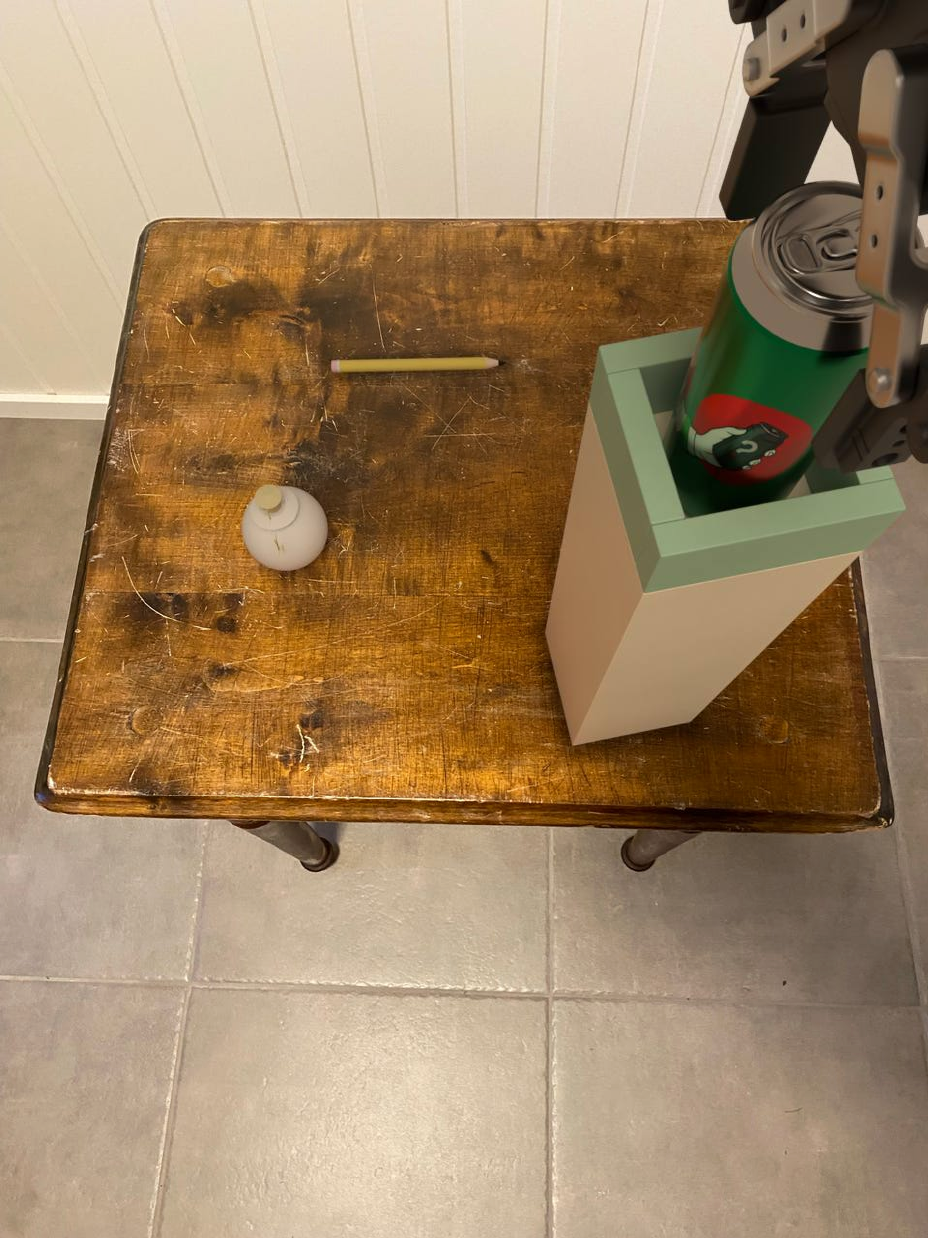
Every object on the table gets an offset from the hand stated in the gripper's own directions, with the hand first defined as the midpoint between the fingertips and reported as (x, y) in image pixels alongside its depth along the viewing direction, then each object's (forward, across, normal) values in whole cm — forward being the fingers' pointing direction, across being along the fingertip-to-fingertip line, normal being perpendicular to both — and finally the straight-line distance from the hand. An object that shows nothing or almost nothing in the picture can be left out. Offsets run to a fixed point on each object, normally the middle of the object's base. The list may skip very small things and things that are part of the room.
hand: (798, 323), depth 25 cm
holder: (+39, 0, 0) cm, 39 cm away
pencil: (+39, +28, +9) cm, 49 cm away
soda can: (+9, 0, 0) cm, 9 cm away
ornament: (+39, +14, +21) cm, 47 cm away
